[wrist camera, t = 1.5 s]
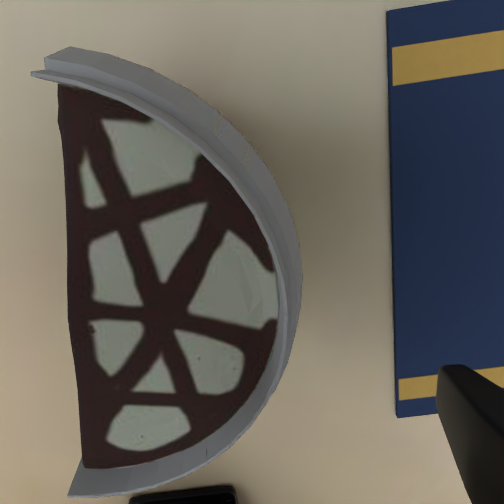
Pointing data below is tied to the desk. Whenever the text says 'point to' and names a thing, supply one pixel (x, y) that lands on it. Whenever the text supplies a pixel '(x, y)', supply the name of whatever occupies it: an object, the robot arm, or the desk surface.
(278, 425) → the desk surface
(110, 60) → the food container
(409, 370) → the book
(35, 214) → the desk surface
